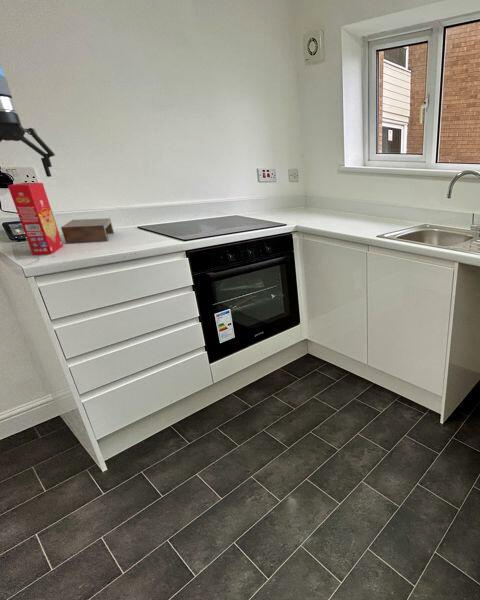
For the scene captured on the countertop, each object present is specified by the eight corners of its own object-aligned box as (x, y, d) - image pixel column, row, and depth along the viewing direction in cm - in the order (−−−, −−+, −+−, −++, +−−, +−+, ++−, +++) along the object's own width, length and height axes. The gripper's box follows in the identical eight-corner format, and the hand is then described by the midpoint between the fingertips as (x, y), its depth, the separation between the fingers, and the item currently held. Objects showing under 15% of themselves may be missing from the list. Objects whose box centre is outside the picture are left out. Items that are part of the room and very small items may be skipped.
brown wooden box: (66, 243, 149) (60, 227, 146) (77, 234, 166) (72, 219, 164) (107, 241, 156) (103, 225, 153) (114, 232, 173) (110, 218, 171)
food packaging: (51, 254, 133) (28, 185, 124) (32, 255, 131) (7, 185, 122) (63, 246, 145) (42, 182, 136) (46, 247, 143) (24, 182, 134)
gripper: (53, 115, 129) (71, 176, 137) (-47, 108, 117) (-21, 175, 125) (47, 113, 123) (66, 177, 131) (-59, 106, 111) (-30, 176, 119)
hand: (24, 176), depth 128 cm, fingers open, 13 cm apart
